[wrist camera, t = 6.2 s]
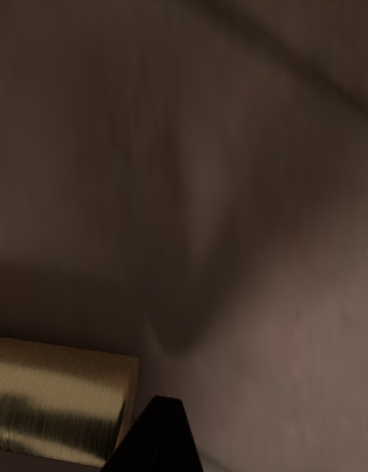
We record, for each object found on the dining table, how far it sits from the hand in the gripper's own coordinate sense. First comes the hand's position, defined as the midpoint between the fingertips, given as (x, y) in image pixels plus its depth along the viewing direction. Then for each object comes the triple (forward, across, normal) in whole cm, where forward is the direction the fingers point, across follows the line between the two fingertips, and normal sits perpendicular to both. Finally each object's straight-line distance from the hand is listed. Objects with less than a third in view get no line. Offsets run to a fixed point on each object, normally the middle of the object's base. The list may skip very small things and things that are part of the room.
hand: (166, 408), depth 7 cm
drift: (+1, +6, 0) cm, 6 cm away
